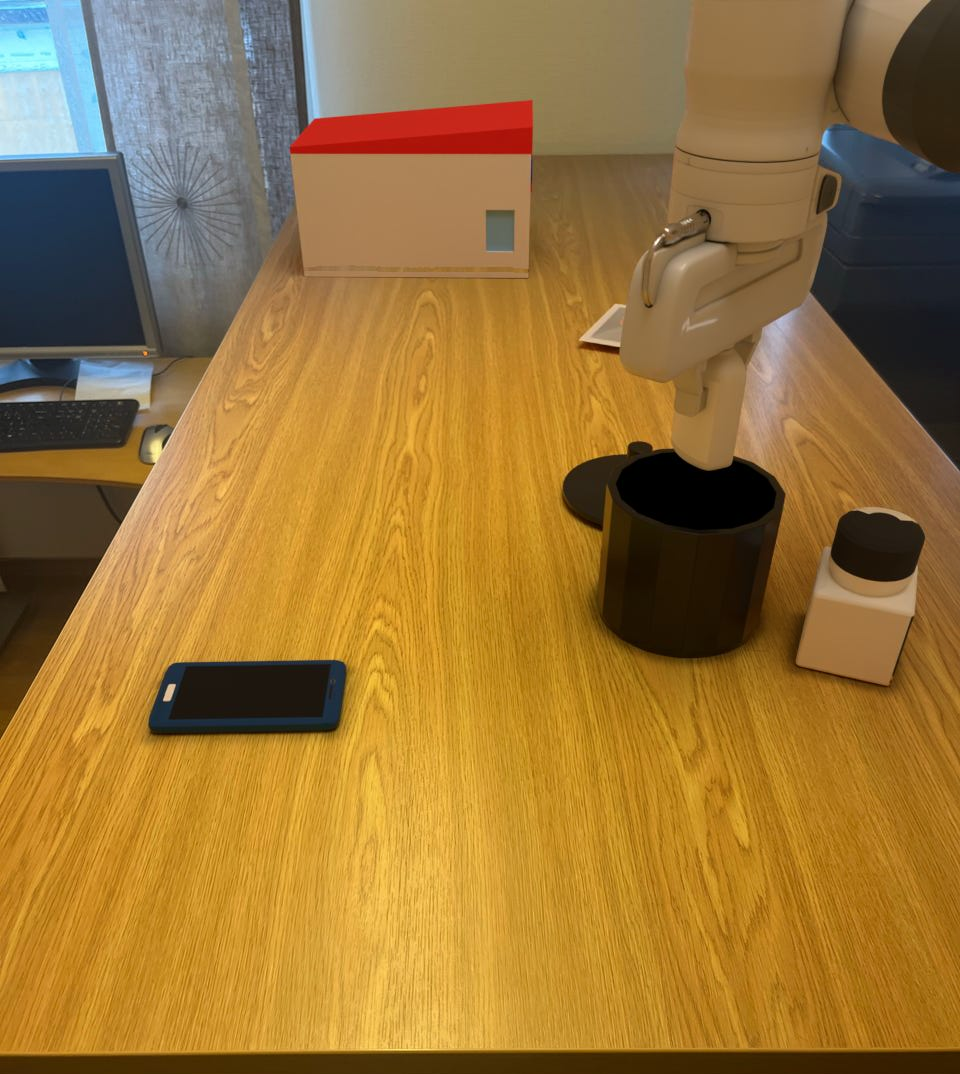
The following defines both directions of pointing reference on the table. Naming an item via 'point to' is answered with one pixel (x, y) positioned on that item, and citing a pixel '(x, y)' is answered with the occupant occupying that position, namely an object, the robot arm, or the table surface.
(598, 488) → the tin lid
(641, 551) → the tin
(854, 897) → the table surface
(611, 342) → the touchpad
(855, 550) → the medicine bottle
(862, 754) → the table surface
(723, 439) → the eye dropper bottle
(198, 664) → the cell phone
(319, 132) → the bookstore
